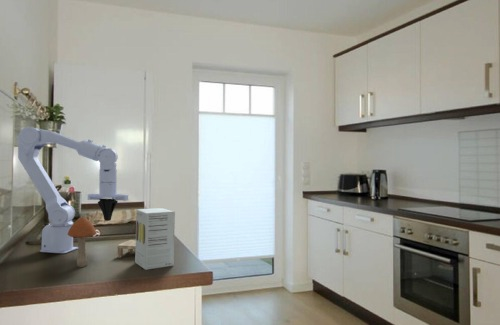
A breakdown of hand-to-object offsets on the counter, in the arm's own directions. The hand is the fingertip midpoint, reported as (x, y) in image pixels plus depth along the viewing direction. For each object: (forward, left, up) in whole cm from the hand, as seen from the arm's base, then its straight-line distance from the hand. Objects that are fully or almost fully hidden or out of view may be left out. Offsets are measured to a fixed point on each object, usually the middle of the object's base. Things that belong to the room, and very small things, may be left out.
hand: (107, 220), depth 135 cm
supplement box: (+24, -14, -11) cm, 30 cm away
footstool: (+9, -5, -8) cm, 13 cm away
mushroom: (+4, -22, -11) cm, 24 cm away
